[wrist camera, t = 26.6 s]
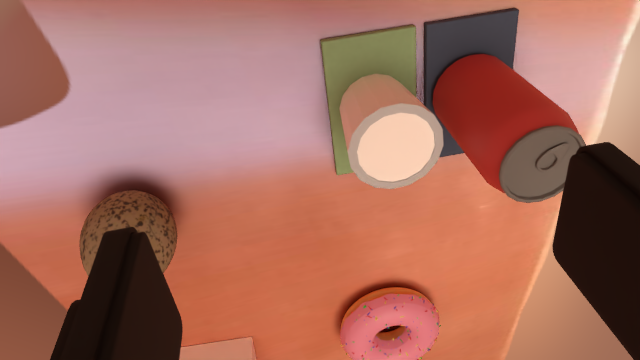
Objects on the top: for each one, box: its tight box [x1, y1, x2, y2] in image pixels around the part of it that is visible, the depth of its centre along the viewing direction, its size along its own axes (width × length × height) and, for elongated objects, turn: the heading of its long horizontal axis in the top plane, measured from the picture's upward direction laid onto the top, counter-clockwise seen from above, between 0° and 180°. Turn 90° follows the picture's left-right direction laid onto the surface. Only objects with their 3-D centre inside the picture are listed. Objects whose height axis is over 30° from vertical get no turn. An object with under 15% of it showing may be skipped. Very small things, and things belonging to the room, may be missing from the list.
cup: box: [339, 74, 443, 189], centre depth 37 cm, size 7×7×7 cm
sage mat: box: [320, 25, 416, 175], centre depth 41 cm, size 12×7×1 cm, turn 7°
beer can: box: [433, 54, 586, 203], centre depth 36 cm, size 7×7×12 cm
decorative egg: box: [80, 190, 177, 276], centre depth 39 cm, size 7×7×10 cm
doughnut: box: [340, 287, 441, 360], centre depth 54 cm, size 11×11×4 cm
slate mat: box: [424, 8, 519, 157], centre depth 41 cm, size 12×7×1 cm, turn 7°
